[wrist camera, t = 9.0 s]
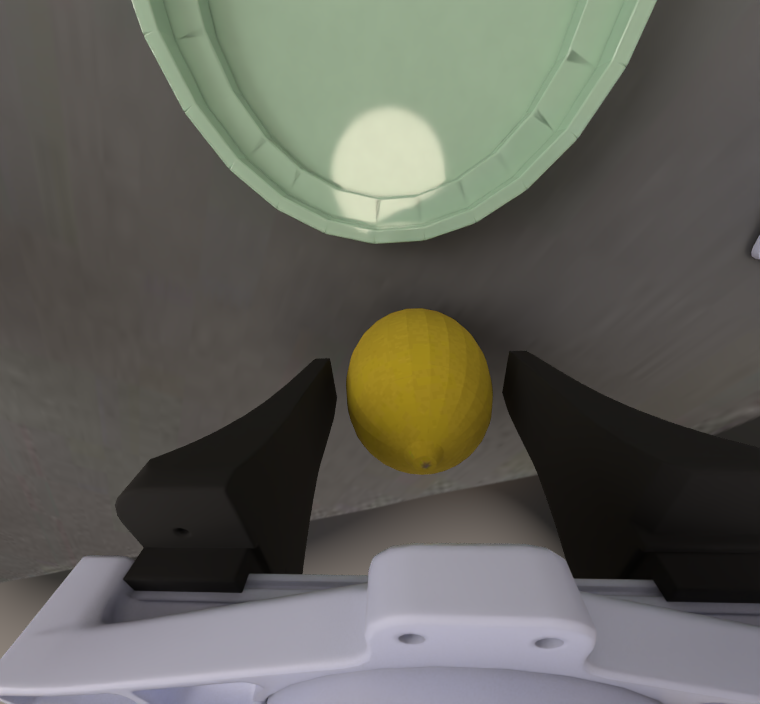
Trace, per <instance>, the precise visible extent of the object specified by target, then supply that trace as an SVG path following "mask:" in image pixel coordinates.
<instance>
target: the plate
mask: <svg viewBox="0 0 760 704" xmlns="http://www.w3.org/2000/svg"><path fill="white" fill-rule="evenodd" d="M656 2H657V0H132V3H133V6H134V9H135V12H136V15H137V18H138V21H139V24H140V27H141V30H142V33H143V34H144V37H145V39H146V41H147V43H148V45H149V47H150V49H151V50H152V52H153V54H154V56H155V58H156V60H157V62H158V64H159V66H160V67H161V69H162V71H163V73H164V75H165V77H166V79H167V81H168V83H169V84H170V86H171V88H172V90H173V92H174V94H175V96H176V98H177V99H178V101H179V103H180V105H181V107H182V109H183V111H184V112H185V113H186V115H187V116H188V118H189V119H190V120H191V121H192V123H193V124H194V125H195V127H196V128H197V129H198V130H199V132H200V133H201V134H202V135H203V137H204V138H205V139H206V141H207V142H208V143H209V144H210V146H211V147H212V148H213V149H214V151H215V152H216V153H217V154H218V156H219V157H220V158H221V160H222V161H223V162H224V163H225V165H226V166H227V167H228V168H229V169H230V170H231V171H232V172H233V173H234V174H235V175H236V176H238V177H239V178H240V179H241V180H242V181H243V182H245V183H246V184H247V185H248V186H249V187H251V188H252V189H253V190H254V191H255V192H257V193H258V194H259V195H260V196H261V197H262V198H264V199H265V200H266V201H267V202H268V203H270V204H271V205H272V206H273V207H274V208H276V209H278V210H279V211H281V212H283V213H285V214H287V215H289V216H291V217H293V218H295V219H297V220H299V221H301V222H303V223H305V224H307V225H309V226H311V227H313V228H315V229H317V230H319V231H321V232H323V233H326V234H328V235H333V236H338V237H343V238H347V239H352V240H357V241H362V242H367V243H371V244H374V243H375V244H384V243H399V242H414V241H424V240H429V239H431V238H434V237H437V236H440V235H443V234H446V233H449V232H452V231H455V230H458V229H460V228H463V227H466V226H469V225H472V224H474V223H475V222H478V221H480V220H481V219H483V218H485V217H486V216H488V215H489V214H491V213H492V212H494V211H495V210H497V209H498V208H500V207H502V206H503V205H505V204H506V203H508V202H509V201H511V200H512V199H514V198H515V197H517V196H519V195H520V194H522V193H523V192H525V191H526V189H528V188H529V187H530V186H531V185H532V184H533V183H534V182H535V181H536V180H537V179H538V178H539V177H540V176H541V175H542V174H543V173H544V172H545V171H546V170H547V169H548V168H549V167H550V166H551V165H552V164H553V163H554V162H555V161H556V160H557V159H558V158H559V157H560V156H561V155H562V154H563V153H564V152H565V151H566V150H567V149H568V148H569V147H570V146H571V145H572V144H573V143H574V142H575V141H576V140H577V138H579V136H580V135H581V133H582V132H583V130H584V129H585V127H586V126H587V124H588V123H589V121H590V120H591V119H592V117H593V116H594V114H595V113H596V111H597V110H598V108H599V107H600V105H601V104H602V102H603V101H604V99H605V98H606V96H607V95H608V94H609V92H610V91H611V89H612V88H613V86H614V85H615V83H616V82H617V80H618V79H619V77H620V76H621V74H622V73H623V71H624V70H625V67H626V66H627V65H628V63H629V61H630V58H631V56H632V54H633V52H634V50H635V48H636V45H637V43H638V41H639V39H640V37H641V34H642V32H643V30H644V28H645V26H646V23H647V21H648V19H649V17H650V15H651V13H652V10H653V8H654V6H655V4H656Z"/></svg>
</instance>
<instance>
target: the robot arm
mask: <svg viewBox="0 0 760 704" xmlns="http://www.w3.org/2000/svg"><path fill="white" fill-rule="evenodd" d="M751 254H752V257H753V258H754V259H758V260H760V235H759V237H758V239H757V240H756V242H755V244H754V246H753V248H752V251H751ZM502 393H503V396H504V400H505V403H506V406H507V409H508V412H509V415H510V417H511V419H512V421H513V423H514V425H515V427H516V429H517V432H518V434H519V436H520V438H521V440H522V442H523V444H524V446H525V448H526V450H527V452H528V454H529V456H530V458H531V460H532V462H533V464H534V466H535V469H536V471H537V473H538V476H539V479H540V482H541V484H542V487H543V490H544V493H545V495H546V498H547V501H548V504H549V507H550V510H551V513H552V516H553V519H554V522H555V525H556V528H557V532H558V535H559V538H560V541H561V544H562V548H563V551H564V554H565V558H566V560H565V559H563V558H562V557H560V556H559V555H557V554H555V553H554V552H552V551H551V550H549V549H547V548H545V547H540V546H534V545H527V544H472V543H471V544H470V543H468V544H467V543H466V544H465V543H410V544H403V545H396V546H391V547H389V548H387V549H386V550H384V551H382V552H380V553H378V554H377V555H376V556H374V557H373V559H372V562H371V565H370V567H369V574H368V575H307V574H302V573H303V565H304V557H305V549H306V542H307V536H308V528H309V522H310V516H311V510H312V504H313V498H314V492H315V487H316V481H317V476H318V472H319V468H320V464H321V460H322V457H323V454H324V450H325V447H326V444H327V440H328V437H329V433H330V430H331V426H332V423H333V419H334V414H335V408H336V401H337V395H336V390H335V384H334V379H333V373H332V368H331V362H330V358H325V359H315V360H313V361H312V362H311V363H310V364H309V365H308V366H307V367H305V368H304V369H303V370H302V371H301V372H300V373H299V374H298V375H297V376H296V377H295V378H293V379H292V380H291V381H290V382H289V383H288V384H287V385H285V386H284V387H283V388H282V389H281V390H279V391H278V392H277V393H276V394H274V395H273V396H272V397H271V398H269V399H268V400H267V401H265V402H264V403H263V404H261V405H260V406H258V407H257V408H255V409H254V410H252V411H251V412H249V413H248V414H246V415H245V416H243V417H241V418H239V419H238V420H236V421H234V422H232V423H231V424H229V425H227V426H225V427H224V428H222V429H220V430H218V431H216V432H214V433H212V434H210V435H208V436H206V437H204V438H202V439H199V440H197V441H195V442H193V443H191V444H188V445H186V446H184V447H181V448H178V449H176V450H173V451H171V452H168V453H166V454H163V455H161V456H158V457H156V458H153V459H150V460H149V461H148V463H147V464H146V465H145V466H144V467H143V468H142V470H141V471H140V472H139V473H138V474H137V476H136V477H135V478H134V479H133V480H132V481H131V483H130V484H129V485H128V486H127V487H126V488H125V490H124V491H123V492H122V493H121V494H120V496H119V497H118V498H117V501H116V504H115V507H116V511H117V516H118V517H119V519H120V520H121V522H122V523H123V524H124V525H125V527H126V528H127V529H128V530H129V531H130V532H131V533H132V535H133V536H134V537H135V538H136V539H137V540H138V541H139V542H140V544H141V545H142V546H143V547H144V548H143V550H142V551H141V553H140V554H139V556H138V557H137V559H136V560H134V559H132V558H129V557H126V556H100V555H88V556H85V557H83V558H82V559H81V560H80V562H79V563H78V564H77V565H76V567H75V568H74V569H73V570H72V572H71V573H70V574H69V575H68V576H67V578H66V579H65V580H64V581H63V583H62V584H61V585H60V586H59V588H58V589H57V590H56V591H55V592H54V594H53V595H52V596H51V598H50V599H49V600H48V601H47V602H46V604H45V605H44V606H43V607H42V609H41V610H40V611H39V612H38V614H37V615H36V616H35V617H34V618H33V620H32V621H31V622H30V624H29V625H28V626H27V627H26V628H25V630H24V631H23V632H22V633H21V635H20V636H19V637H18V638H17V640H16V641H15V642H14V643H13V644H12V646H11V647H10V648H9V649H8V651H7V652H6V653H5V654H4V656H3V657H2V658H1V659H0V701H1V702H3V703H6V704H760V448H757V447H754V446H750V445H747V444H743V443H739V442H735V441H731V440H727V439H723V438H720V437H716V436H712V435H709V434H706V433H703V432H699V431H696V430H693V429H690V428H686V427H683V426H680V425H677V424H674V423H671V422H668V421H665V420H663V419H660V418H657V417H655V416H652V415H649V414H647V413H644V412H641V411H639V410H636V409H634V408H631V407H629V406H627V405H624V404H622V403H620V402H618V401H615V400H613V399H611V398H609V397H607V396H605V395H602V394H600V393H598V392H596V391H595V390H593V389H591V388H589V387H587V386H585V385H583V384H581V383H579V382H578V381H576V380H574V379H572V378H571V377H569V376H567V375H566V374H564V373H562V372H561V371H559V370H557V369H556V368H554V367H552V366H551V365H549V364H547V363H546V362H544V361H542V360H541V359H539V358H538V357H536V356H534V355H532V354H531V353H529V352H527V351H509V356H508V362H507V368H506V374H505V380H504V386H503V392H502ZM566 561H567V562H566Z"/></svg>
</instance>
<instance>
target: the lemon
mask: <svg viewBox="0 0 760 704" xmlns="http://www.w3.org/2000/svg"><path fill="white" fill-rule="evenodd" d="M346 390H347V404H348V411H349V416H350V419H351V422H352V424H353V427H354V429H355V432H356V434H357V436H358V438H359V440H360V441H361V442H362V444H363V445H364V446H365V447H366V449H367V450H368V451H369V452H370V453H371V454H372V455H373V456H374V457H376V458H377V459H378V460H380V461H381V462H382V463H384V464H385V465H387V466H390V467H392V468H394V469H396V470H398V471H402V472H406V473H410V474H421V475H423V474H434V473H438V472H442V471H445V470H448V469H450V468H452V467H454V466H456V465H458V464H459V463H461V462H462V461H463V460H465V459H466V458H467V457H469V456H470V455H471V454H472V453H473V452H474V450H475V449H476V448H477V447H478V445H479V444H480V443H481V442H482V440H483V438H484V436H485V433H486V431H487V428H488V426H489V424H490V420H491V413H492V399H493V390H492V382H491V377H490V374H489V370H488V366H487V362H486V359H485V357H484V354H483V353H482V351H481V349H480V348H479V346H478V344H477V343H476V341H475V340H474V338H473V337H472V335H471V334H470V333H469V332H468V331H467V330H466V329H465V328H464V327H462V326H461V325H460V324H459V323H458V322H457V321H455V320H454V319H452V318H451V317H448V316H446V315H444V314H442V313H440V312H438V311H432V310H427V309H422V308H416V309H404V310H401V311H397V312H393V313H391V314H389V315H387V316H385V317H383V318H382V319H380V320H378V321H377V322H376V323H375V324H374V325H373V326H371V327H370V328H369V329H368V330H367V331H366V332H365V333H364V334H363V336H362V338H361V339H360V341H359V343H358V344H357V346H356V348H355V349H354V351H353V354H352V357H351V360H350V364H349V369H348V373H347V379H346Z"/></svg>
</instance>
